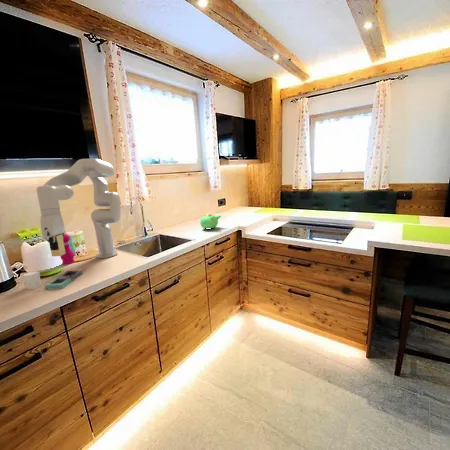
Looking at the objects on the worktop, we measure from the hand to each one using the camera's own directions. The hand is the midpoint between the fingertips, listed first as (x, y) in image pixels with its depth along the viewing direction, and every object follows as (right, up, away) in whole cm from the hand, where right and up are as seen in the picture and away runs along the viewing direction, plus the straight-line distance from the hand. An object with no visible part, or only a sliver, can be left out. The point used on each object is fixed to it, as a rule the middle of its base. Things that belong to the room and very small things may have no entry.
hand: (57, 248), depth 115 cm
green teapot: (+69, +7, +106) cm, 126 cm away
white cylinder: (-12, -19, 0) cm, 22 cm away
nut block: (0, -3, +1) cm, 3 cm away
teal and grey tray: (+1, -17, +5) cm, 18 cm away
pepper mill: (-15, -12, +31) cm, 37 cm away
